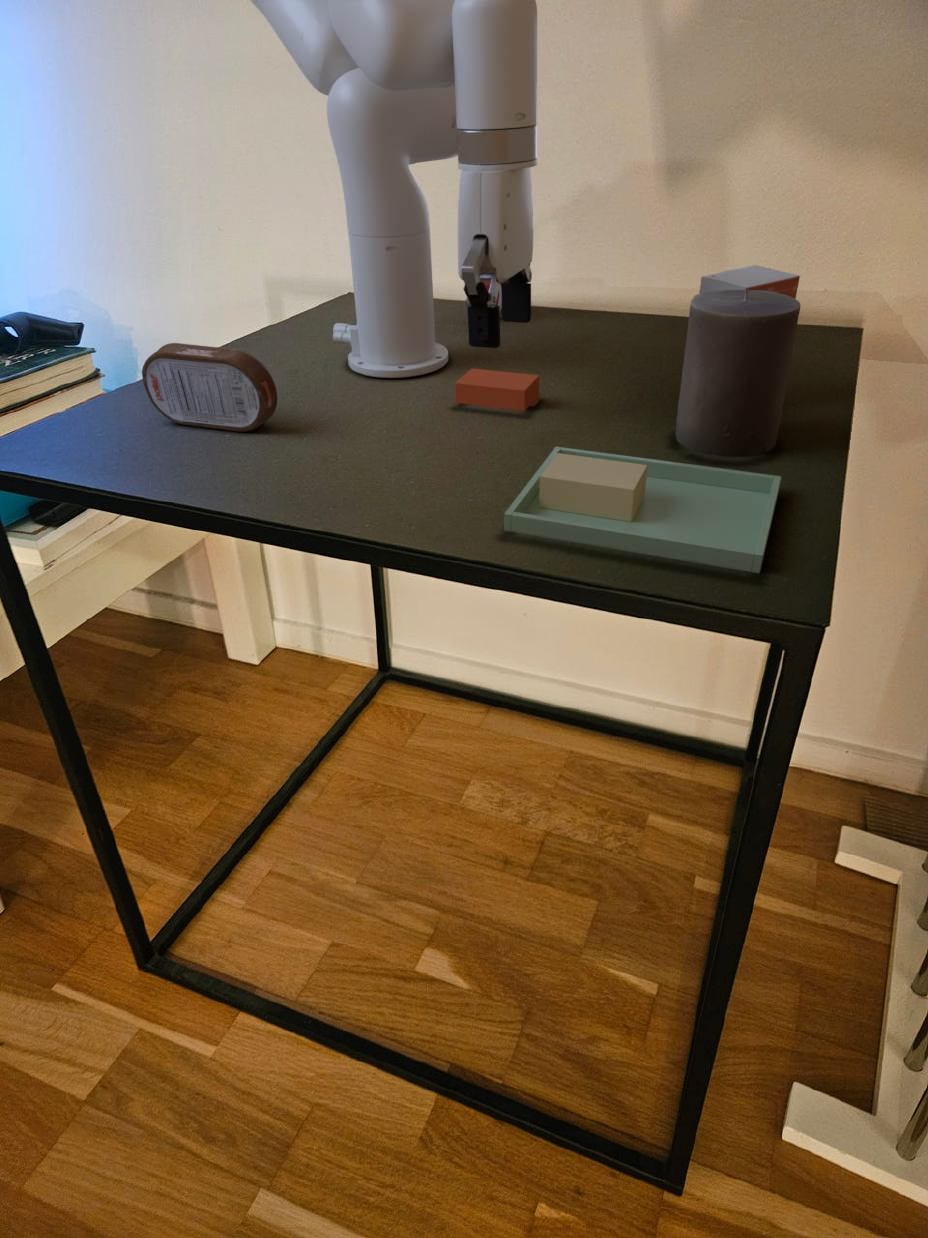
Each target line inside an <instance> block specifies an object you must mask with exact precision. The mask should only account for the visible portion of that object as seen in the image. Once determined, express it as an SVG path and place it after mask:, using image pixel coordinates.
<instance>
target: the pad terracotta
mask: <svg viewBox="0 0 928 1238" xmlns="http://www.w3.org/2000/svg"><path fill="white" fill-rule="evenodd" d="M454 388H455V389H454V390H455V406H458V405H459V404H463V405H473V406H479V407H488V408H498V409H506V410H514V411H523V412H525V411H526V410H527V409H528V408H529V407H535V406H536V405H537V404H538V403H539V401H540V375H539V374H530V373H521V372H520V373H519V372H509V371H502V370H501V371H500V370H491V369H481V368H470V370H468V371H467V372H465V374H464V375H463V376H461V377H460V378H459V379H458V380H456V381H455V383H454Z"/></svg>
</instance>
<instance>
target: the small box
mask: <svg viewBox="0 0 928 1238" xmlns="http://www.w3.org/2000/svg"><path fill="white" fill-rule="evenodd" d="M700 277H701V278H700V286H699V293H698V294H702V293H707V292H712V291H722V290H745V287H747V288H748V290H753V291H754V290H761V291H768V292H777V293H779V294H783V295H787V296H790V297H792V298H794V299H796V300H797V295H798V294H797V293H798V288H799V283H800V277H801V275H798V274H795V273H790V272H786V271H782V270H777V269H774V268H771V267H770V268H769V267H765V266H761V265H757V264H753V265H749V266H745V267H740V268H733V269H728V270H724V271H720V272H717V273H713V274H709V275H703V276H700Z"/></svg>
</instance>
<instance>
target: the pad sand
mask: <svg viewBox="0 0 928 1238" xmlns="http://www.w3.org/2000/svg"><path fill="white" fill-rule="evenodd" d="M647 467H648V466H647V465H643V464H635V463H628V462H620V461H613V460H605V459H598V458H590V457H583V456H576V455H568V454H561V453H557V454H556V456H555V457H554V458H553V460H552V461H551V462H550V464H549V465H548V466H547V468H546V469H545V470H544V472H543V473H542V474H541V476H540V500H539V507H540V508H545V509H551V510H557V511H564V512H570V513H576V514H583V515H589V516H596V517H602V518H608V519H615V520H621V521H628V522H632V520H633V518H634V516H635V514H636V512H637V510H638V508H639V506H640V504H641V502H642V500H643V498H644V496H645V487H646V477H647Z"/></svg>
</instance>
